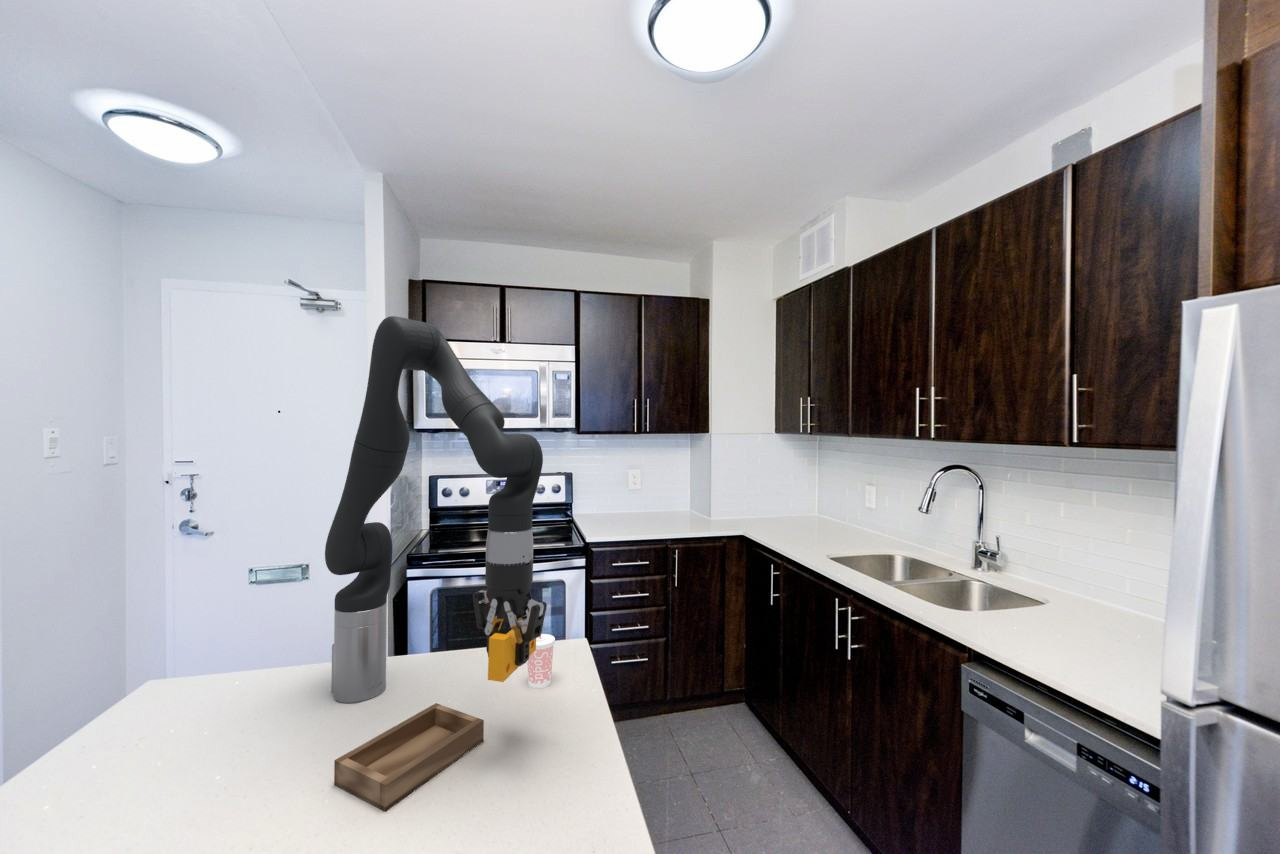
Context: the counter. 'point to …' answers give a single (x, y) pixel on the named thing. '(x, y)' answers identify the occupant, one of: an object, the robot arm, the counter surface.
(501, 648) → the pipe clamp
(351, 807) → the counter surface
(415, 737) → the wooden tray
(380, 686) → the robot arm
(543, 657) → the beverage cup
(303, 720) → the counter surface
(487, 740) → the counter surface
